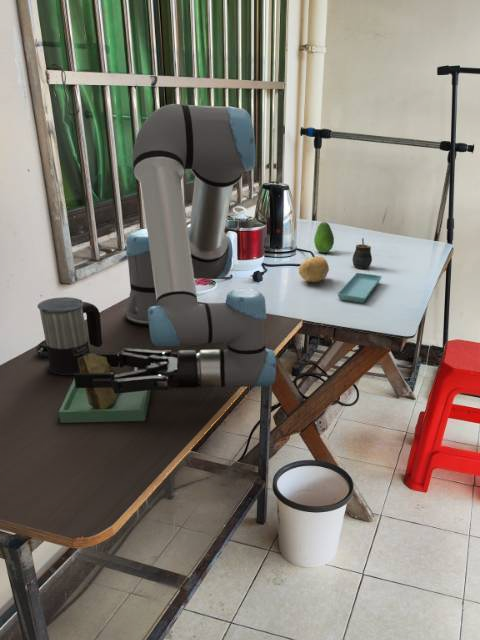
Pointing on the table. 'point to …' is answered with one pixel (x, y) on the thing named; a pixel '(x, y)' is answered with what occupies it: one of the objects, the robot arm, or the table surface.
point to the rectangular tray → (359, 287)
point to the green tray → (122, 409)
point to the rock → (97, 396)
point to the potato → (314, 269)
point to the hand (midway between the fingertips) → (80, 370)
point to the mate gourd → (362, 256)
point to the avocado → (324, 238)
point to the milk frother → (68, 332)
